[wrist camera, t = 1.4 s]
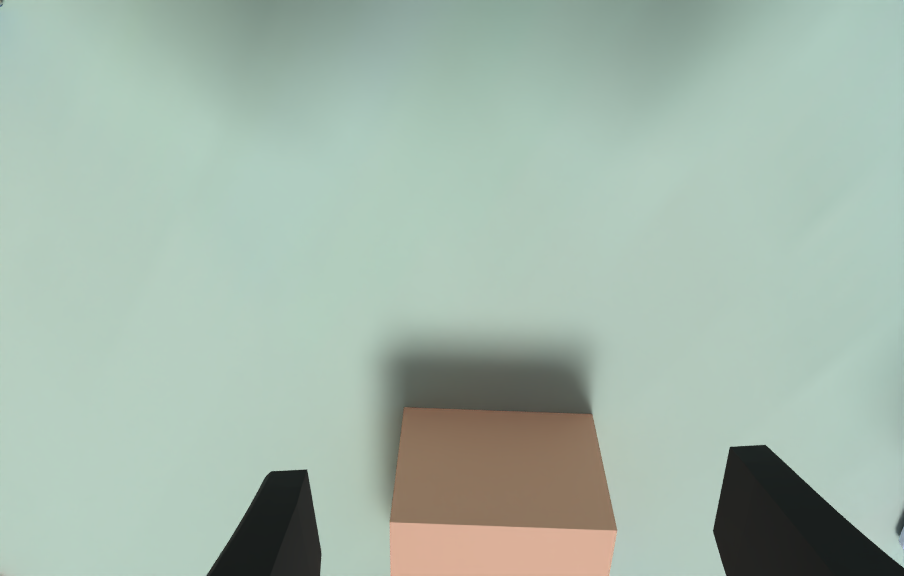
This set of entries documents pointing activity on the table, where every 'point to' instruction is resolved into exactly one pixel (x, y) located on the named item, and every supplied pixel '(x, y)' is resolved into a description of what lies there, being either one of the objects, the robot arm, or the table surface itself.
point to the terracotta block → (500, 495)
